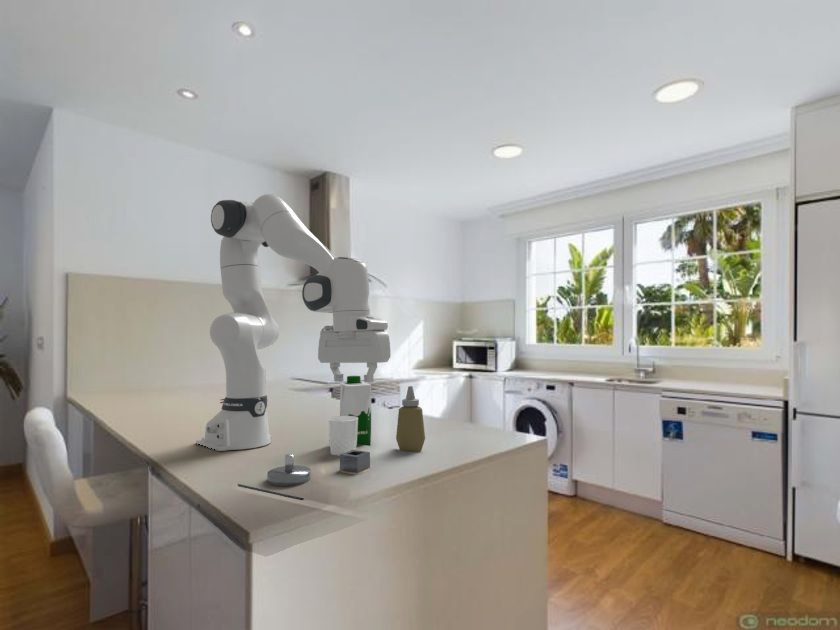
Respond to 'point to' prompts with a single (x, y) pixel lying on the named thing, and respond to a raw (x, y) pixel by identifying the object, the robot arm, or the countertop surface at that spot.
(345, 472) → the stand
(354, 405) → the milk carton
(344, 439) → the white cup
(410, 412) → the squeeze bottle
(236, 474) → the countertop surface
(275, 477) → the grey plate with knob
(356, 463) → the square hollow frame
